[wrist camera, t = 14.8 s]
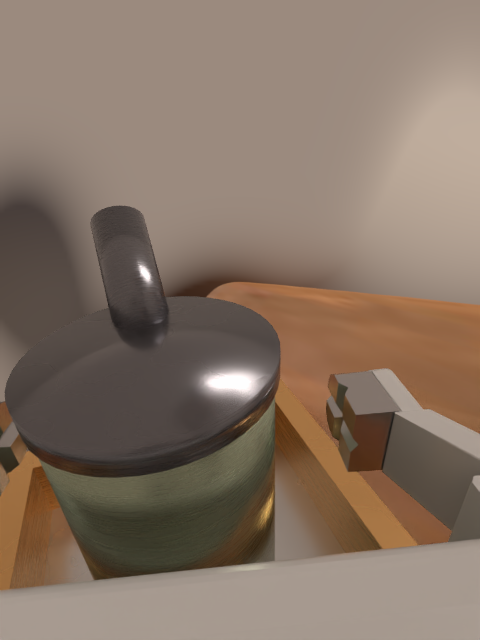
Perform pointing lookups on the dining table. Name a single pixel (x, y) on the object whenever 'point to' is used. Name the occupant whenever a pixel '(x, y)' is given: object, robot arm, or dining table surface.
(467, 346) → the dining table surface
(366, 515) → the open wooden box
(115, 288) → the glass jar with lid
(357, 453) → the robot arm
